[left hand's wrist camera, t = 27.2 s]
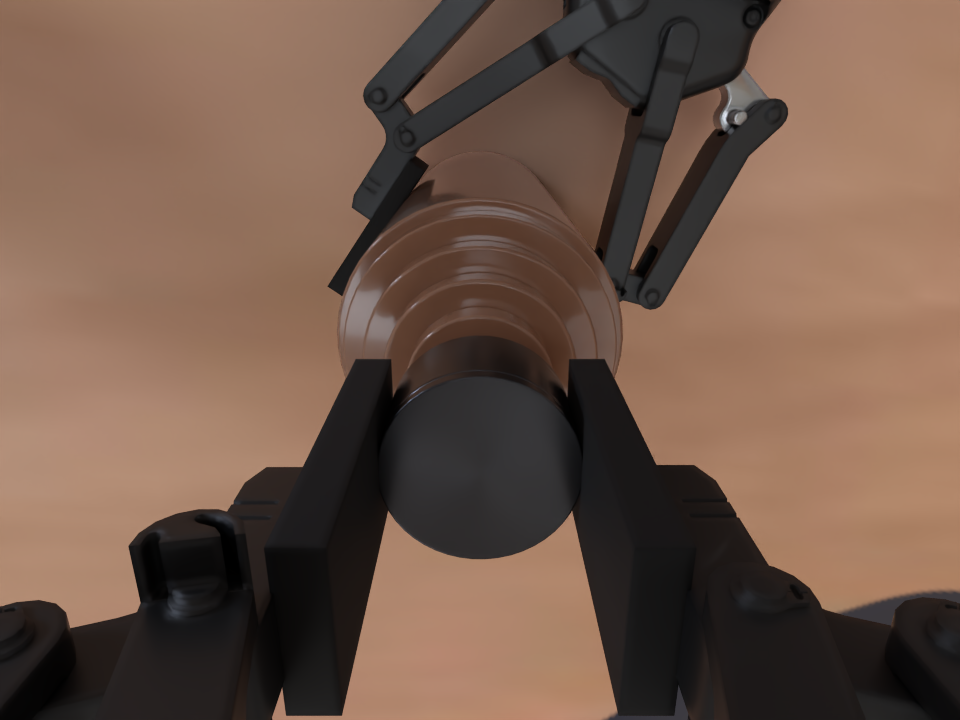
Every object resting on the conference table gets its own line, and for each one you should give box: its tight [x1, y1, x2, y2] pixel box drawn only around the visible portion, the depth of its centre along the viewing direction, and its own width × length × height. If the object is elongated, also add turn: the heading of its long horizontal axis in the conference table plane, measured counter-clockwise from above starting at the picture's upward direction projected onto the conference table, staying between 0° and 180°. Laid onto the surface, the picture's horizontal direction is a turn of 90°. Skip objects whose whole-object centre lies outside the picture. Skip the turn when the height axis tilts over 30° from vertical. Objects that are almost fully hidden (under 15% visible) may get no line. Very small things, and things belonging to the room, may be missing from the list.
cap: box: [378, 335, 583, 559], centre depth 14 cm, size 4×4×2 cm
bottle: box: [337, 151, 623, 397], centre depth 25 cm, size 8×8×25 cm
